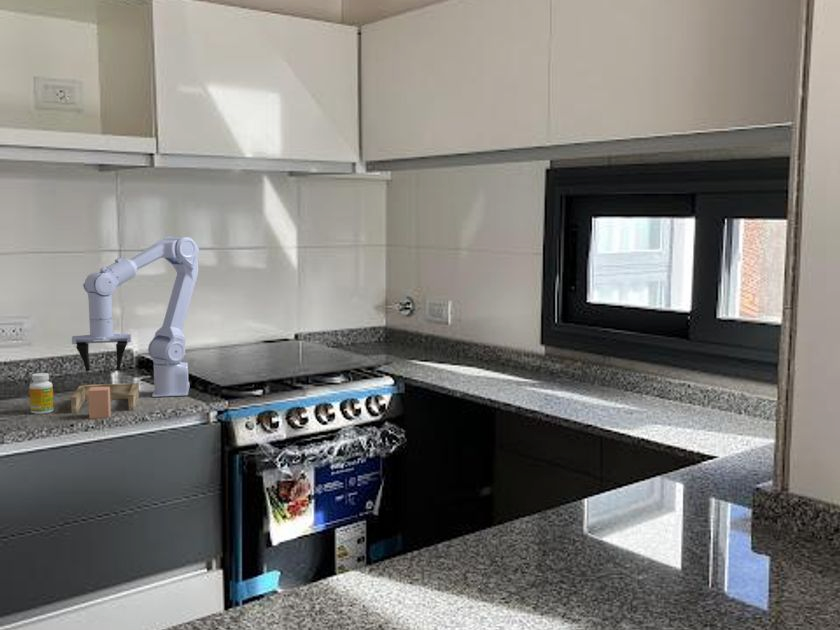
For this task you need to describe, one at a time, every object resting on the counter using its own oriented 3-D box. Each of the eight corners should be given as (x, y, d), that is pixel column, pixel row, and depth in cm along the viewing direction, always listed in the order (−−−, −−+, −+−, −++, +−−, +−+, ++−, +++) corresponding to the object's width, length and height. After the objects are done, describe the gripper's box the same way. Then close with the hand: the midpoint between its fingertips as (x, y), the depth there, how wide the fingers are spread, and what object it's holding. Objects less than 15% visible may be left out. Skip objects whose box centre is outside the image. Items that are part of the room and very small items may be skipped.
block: (110, 413, 220) (109, 386, 219) (108, 417, 216) (107, 390, 215) (92, 414, 219) (90, 387, 218) (89, 418, 215) (88, 390, 214)
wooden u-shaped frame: (139, 397, 239) (139, 383, 239) (134, 410, 224) (133, 394, 223) (80, 399, 236) (80, 385, 236) (71, 412, 220) (70, 397, 220)
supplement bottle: (45, 414, 219) (43, 376, 217) (25, 413, 220) (24, 375, 218) (58, 410, 224) (56, 372, 223) (39, 409, 225) (37, 371, 224)
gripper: (69, 321, 222) (71, 374, 223) (129, 319, 225) (131, 371, 227) (73, 318, 228) (75, 369, 230) (131, 316, 232) (133, 366, 233)
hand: (103, 370), depth 229 cm, fingers open, 7 cm apart
